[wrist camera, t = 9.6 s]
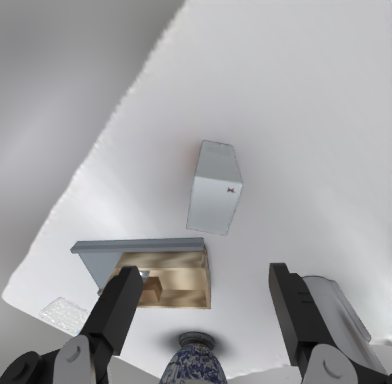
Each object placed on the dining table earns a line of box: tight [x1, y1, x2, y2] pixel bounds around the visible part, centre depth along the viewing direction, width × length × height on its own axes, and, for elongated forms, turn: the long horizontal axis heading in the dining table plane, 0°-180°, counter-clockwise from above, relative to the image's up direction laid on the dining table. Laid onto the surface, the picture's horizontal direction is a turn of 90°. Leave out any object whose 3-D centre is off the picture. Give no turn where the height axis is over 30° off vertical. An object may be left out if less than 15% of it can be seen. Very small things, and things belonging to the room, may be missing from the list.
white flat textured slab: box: [39, 297, 90, 335], centre depth 53 cm, size 13×20×2 cm, turn 42°
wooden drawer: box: [101, 249, 211, 309], centre depth 33 cm, size 16×12×9 cm
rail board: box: [70, 238, 204, 296], centre depth 38 cm, size 26×15×2 cm, turn 97°
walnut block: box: [139, 277, 162, 303], centre depth 37 cm, size 4×4×3 cm
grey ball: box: [139, 271, 150, 282], centre depth 34 cm, size 3×3×3 cm
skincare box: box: [186, 141, 243, 236], centre depth 21 cm, size 6×4×12 cm
